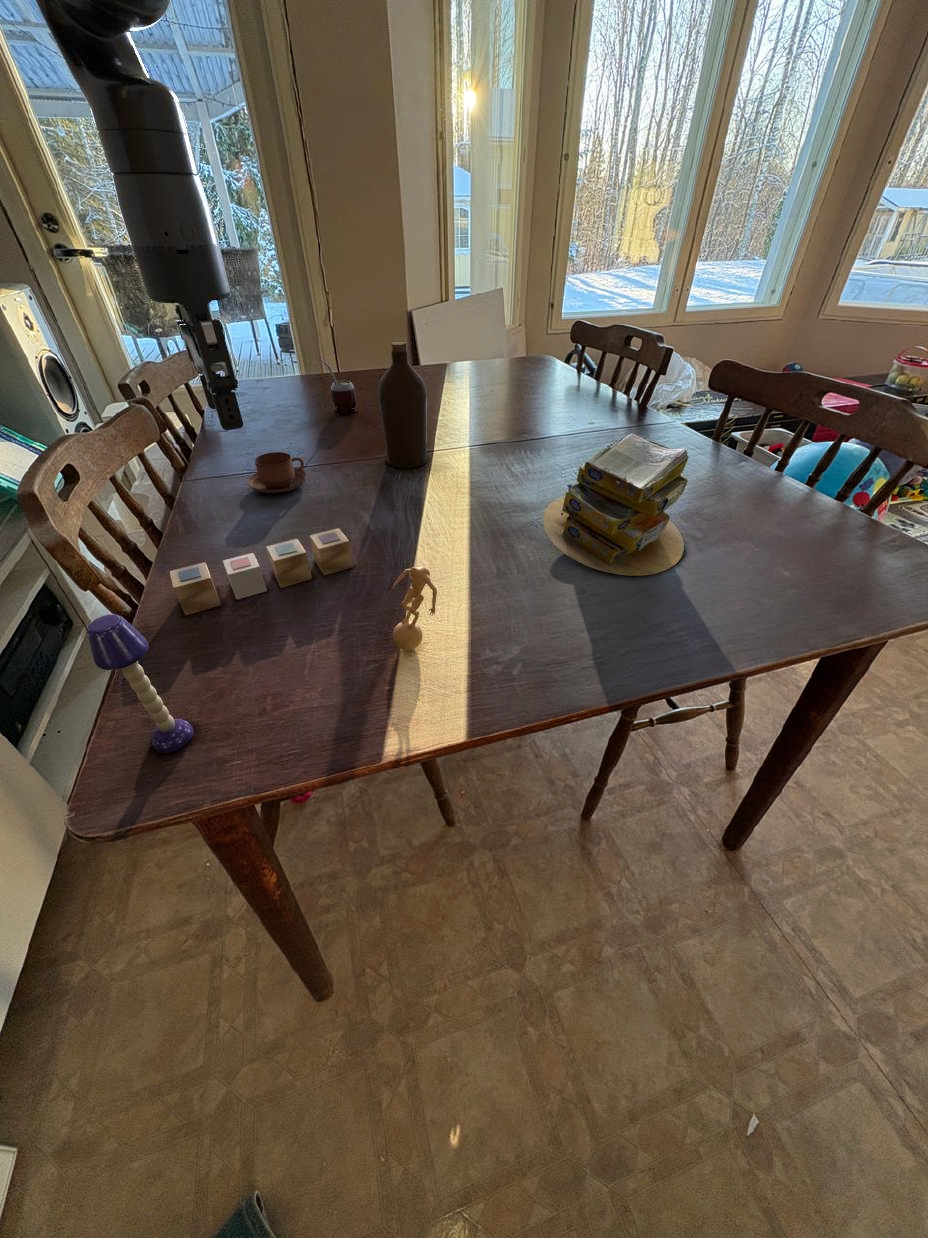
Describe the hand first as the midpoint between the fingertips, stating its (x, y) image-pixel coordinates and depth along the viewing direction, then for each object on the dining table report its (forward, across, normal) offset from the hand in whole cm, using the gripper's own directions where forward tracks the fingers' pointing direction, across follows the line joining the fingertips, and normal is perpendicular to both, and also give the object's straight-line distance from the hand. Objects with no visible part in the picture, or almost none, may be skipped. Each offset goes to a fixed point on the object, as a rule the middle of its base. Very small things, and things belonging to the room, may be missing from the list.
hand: (226, 417), depth 58 cm
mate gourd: (+28, -88, +41) cm, 101 cm away
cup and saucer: (+28, -45, +11) cm, 54 cm away
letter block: (+28, -9, -3) cm, 30 cm away
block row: (+28, -9, 0) cm, 30 cm away
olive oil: (+28, -44, +41) cm, 66 cm away
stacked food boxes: (+28, +8, +57) cm, 64 cm away
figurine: (+28, +16, +14) cm, 35 cm away
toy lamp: (+28, +17, -17) cm, 37 cm away
